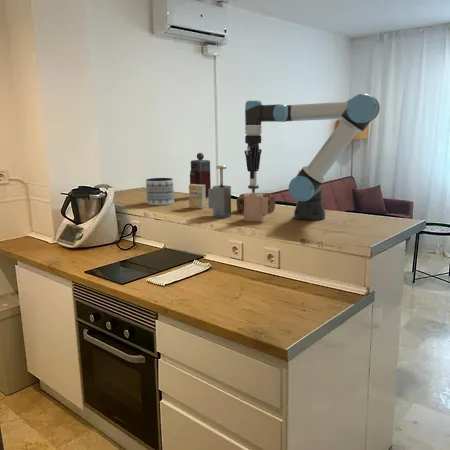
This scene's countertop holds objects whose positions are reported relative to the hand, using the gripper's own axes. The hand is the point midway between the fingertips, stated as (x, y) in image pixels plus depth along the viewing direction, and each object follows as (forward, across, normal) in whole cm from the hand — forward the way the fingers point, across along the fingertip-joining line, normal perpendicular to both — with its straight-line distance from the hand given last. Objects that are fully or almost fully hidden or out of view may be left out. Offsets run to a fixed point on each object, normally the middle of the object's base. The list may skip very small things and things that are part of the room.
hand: (253, 185), depth 222 cm
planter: (+17, -17, -72) cm, 76 cm away
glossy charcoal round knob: (+12, 0, 0) cm, 12 cm away
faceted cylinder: (+17, 0, -19) cm, 26 cm away
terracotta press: (+17, 0, +2) cm, 17 cm away
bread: (+17, -20, -9) cm, 28 cm away
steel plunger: (+4, 0, -18) cm, 18 cm away
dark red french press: (+17, -48, -65) cm, 82 cm away
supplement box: (+17, -14, -43) cm, 48 cm away
